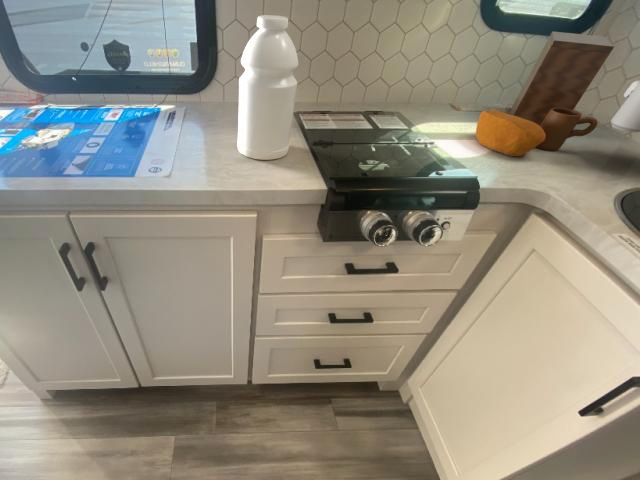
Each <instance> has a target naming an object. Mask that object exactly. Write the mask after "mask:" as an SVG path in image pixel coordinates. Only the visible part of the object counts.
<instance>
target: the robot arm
mask: <svg viewBox="0 0 640 480" xmlns="http://www.w3.org/2000/svg"><path fill="white" fill-rule="evenodd" d="M639 82H640V80H635V81H632V82H631V84H630V85H629V86H628V88H627V89H626V90H625V91H624V93H623V98H625V99H627V98H628V97H629V96H630V94H631V93H632V91H633V90H634V89H635V87H636V86H637V85H638V83H639Z"/></svg>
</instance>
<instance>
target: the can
mask: <svg viewBox="0 0 640 480" xmlns="http://www.w3.org/2000/svg"><path fill="white" fill-rule="evenodd" d="M610 124H611V127H612V128H613V129H616V130H620V131H624V132H629V133H640V82H639V83H638V85H637V86H636V87H635V89H634V90H633V91H632V93H631V94H630V96H629V97H628V98H626V99H625V100H624V102H623V103H622V105H621V106H620V108H618V110H617V111H616V113H615V114H614V115H613V117H612V118H611V120H610Z"/></svg>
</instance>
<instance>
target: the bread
mask: <svg viewBox="0 0 640 480" xmlns="http://www.w3.org/2000/svg"><path fill="white" fill-rule="evenodd" d="M475 137H476V140H477V141H478V143H479V144H480V145H481V146H483V147H484V148H487V149H489V150H492V151H495V152H498V153H501V154H504V155H506V156H510V157H511V156H512V157H521V156H524V155H525V154H527V153H529V152H530V151H532V150H533V149H535V148H537V147H536V146H537V145H539V144H541V143H542V142H543V141H544V140H545V137H546V135H545V132H544V130H543V129H542V128H541V127H540V126H539V125H538V124H536V123H534V122H532V121H529V120H526V119H523V118H520V117H517V116H514V115H510V113H506V112H505V111H502V110H496V109H495V110H494V109H493V110H482V111H481V113H480V114H479V118H478V121H477V124H476V128H475Z"/></svg>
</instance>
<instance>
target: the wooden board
mask: <svg viewBox="0 0 640 480" xmlns="http://www.w3.org/2000/svg"><path fill="white" fill-rule="evenodd" d="M614 48H615V45H614V44H613V43H611V42H610V40H608V38H607V37H606V36H605V35H604V36H603V35H594V34H593V35H592V34H582V33H572V32H561V31H551V33H550V35H549V37H548V39H547V41H546V42H545V44H544V47H543V48H542V50H541V52H540V54H539V56H538V57H537V60H536V61H535V63H534V65H533V67H532V69H531V71H530V73H529V74H528V76H527V78H526V80H525V82H524V84H523V86H522V88H521V89H520V91H519V93H518V95H517V97H516V98H515V101H514V102H513V104H512V106H511V109H510V113H509V114H510V115H514V116H517V117H520V118H523V119H526V120H529V121H532V122H534V123H536V124H538V125H539V126H540V125H541V124H542V122H543V120H544V119H545V117H546V116H547V114H548V113H549V111H550V110H551V109H552V108H565V109H570V110H574V109H575V108H576V107H577V105H578V104H579V102H580V100H581V99H582V98H583V96H584V95H585V93H586V91H587V89H588V88H589V86H590V85H591V84H592V82H593V81H594V79H595V77H596V76H597V74H598V73H599V71H600V70H601V68H602V67H603V65H604V63H605V62H606V60H607V59H608V57H609V56H610V54H611V53H612V52H613V49H614ZM574 111H575V110H574Z"/></svg>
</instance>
